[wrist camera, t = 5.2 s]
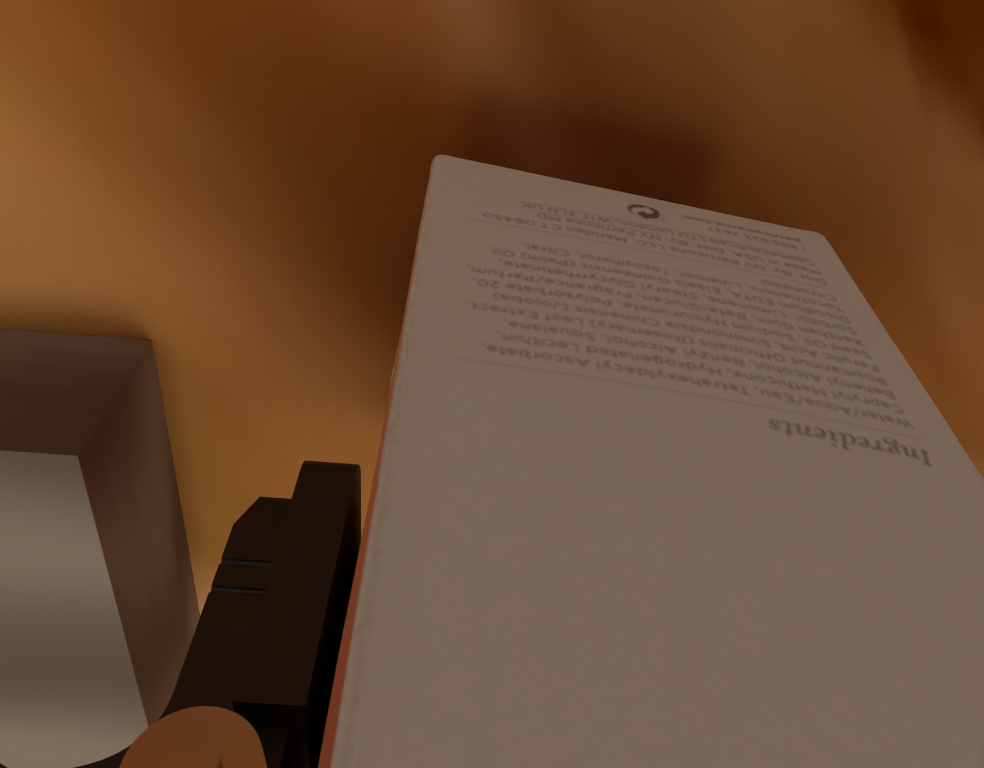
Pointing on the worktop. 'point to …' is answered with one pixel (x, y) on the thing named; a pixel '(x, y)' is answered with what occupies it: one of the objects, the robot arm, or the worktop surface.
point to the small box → (654, 504)
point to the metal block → (86, 549)
